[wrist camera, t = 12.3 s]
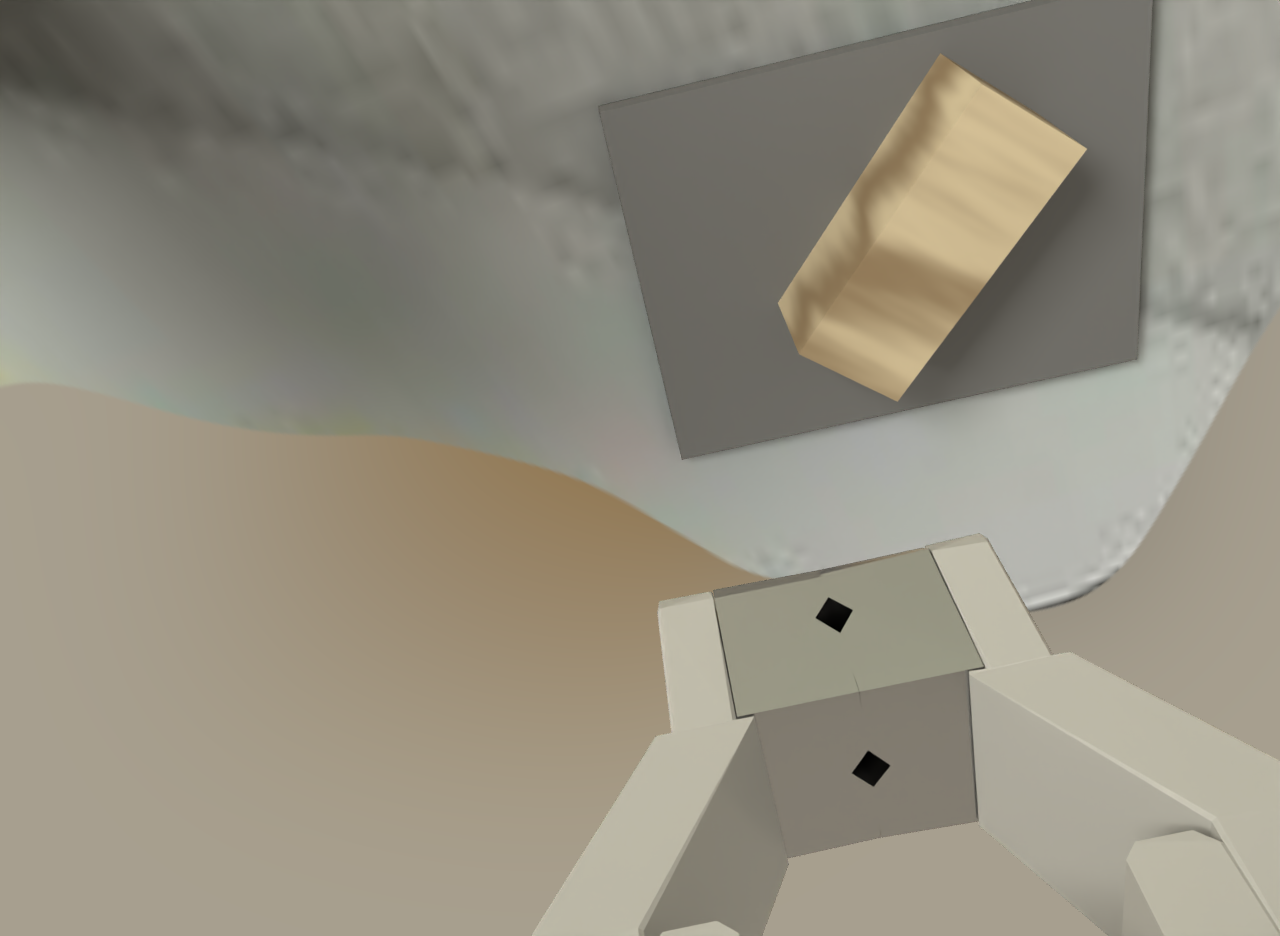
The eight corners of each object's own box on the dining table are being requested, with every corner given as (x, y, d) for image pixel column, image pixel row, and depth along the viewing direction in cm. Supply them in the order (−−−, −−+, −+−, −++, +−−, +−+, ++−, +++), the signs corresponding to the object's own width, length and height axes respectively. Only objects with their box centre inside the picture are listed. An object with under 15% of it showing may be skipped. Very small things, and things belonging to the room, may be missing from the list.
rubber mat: (679, 448, 53) (682, 459, 52) (598, 106, 44) (599, 112, 43) (1127, 349, 51) (1137, 359, 51) (1141, -27, 42) (1153, -23, 41)
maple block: (897, 401, 45) (1087, 148, 40) (798, 354, 44) (982, 84, 38) (868, 348, 49) (1036, 112, 44) (777, 303, 48) (940, 53, 42)
